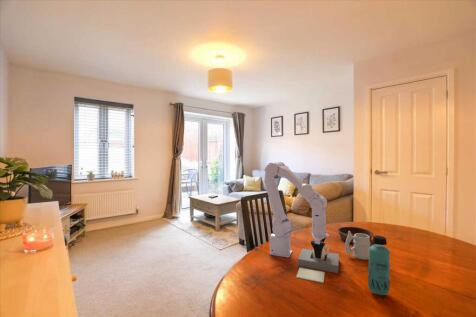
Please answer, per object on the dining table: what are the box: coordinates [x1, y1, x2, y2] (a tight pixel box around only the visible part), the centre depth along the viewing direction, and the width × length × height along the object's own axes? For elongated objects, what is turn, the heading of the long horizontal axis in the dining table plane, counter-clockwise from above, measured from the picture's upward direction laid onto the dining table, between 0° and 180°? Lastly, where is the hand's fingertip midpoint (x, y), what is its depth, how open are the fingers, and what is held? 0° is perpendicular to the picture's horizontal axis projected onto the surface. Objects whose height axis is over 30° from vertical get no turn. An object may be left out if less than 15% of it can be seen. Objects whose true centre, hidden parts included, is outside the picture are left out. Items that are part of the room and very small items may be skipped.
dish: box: [337, 226, 375, 246], centre depth 133 cm, size 18×22×5 cm
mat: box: [295, 267, 326, 284], centre depth 96 cm, size 10×8×1 cm
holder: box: [297, 248, 340, 274], centre depth 106 cm, size 16×12×3 cm
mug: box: [344, 231, 371, 261], centre depth 112 cm, size 8×12×12 cm, turn 93°
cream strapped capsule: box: [312, 241, 330, 261], centre depth 106 cm, size 7×5×9 cm
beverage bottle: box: [367, 235, 391, 296], centre depth 83 cm, size 6×7×20 cm
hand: (318, 254), depth 106 cm, fingers open, 7 cm apart
